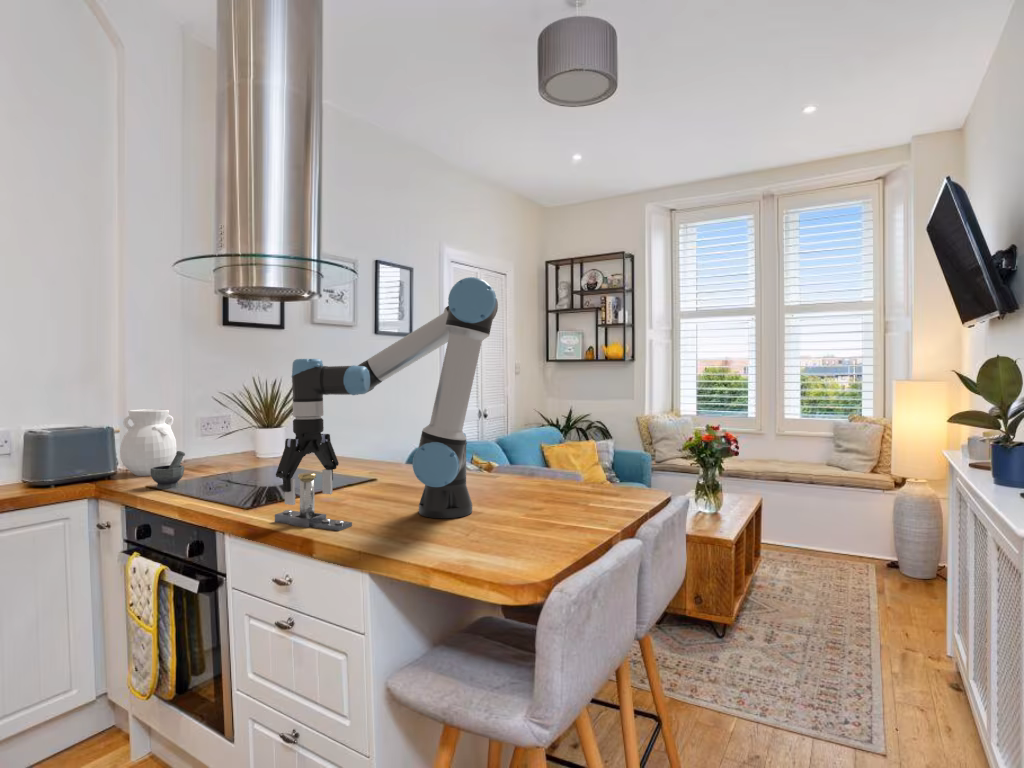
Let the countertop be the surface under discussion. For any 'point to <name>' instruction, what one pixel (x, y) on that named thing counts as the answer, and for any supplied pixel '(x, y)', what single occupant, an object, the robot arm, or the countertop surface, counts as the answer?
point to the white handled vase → (148, 441)
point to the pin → (307, 494)
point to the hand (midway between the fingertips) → (309, 498)
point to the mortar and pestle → (169, 473)
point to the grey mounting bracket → (311, 521)
